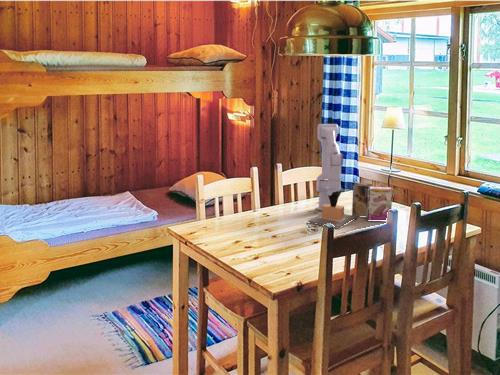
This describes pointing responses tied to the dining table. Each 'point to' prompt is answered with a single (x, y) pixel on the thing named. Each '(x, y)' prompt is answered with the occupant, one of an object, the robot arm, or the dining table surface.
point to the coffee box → (360, 199)
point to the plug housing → (332, 212)
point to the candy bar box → (379, 202)
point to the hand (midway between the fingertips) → (333, 206)
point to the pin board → (336, 223)
